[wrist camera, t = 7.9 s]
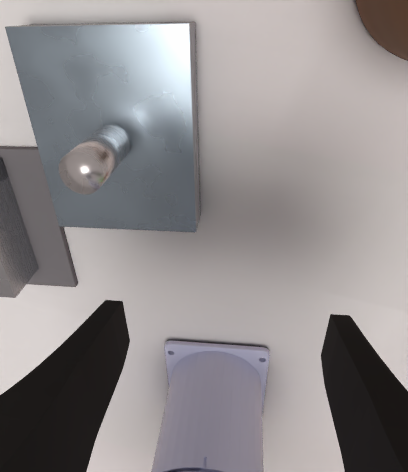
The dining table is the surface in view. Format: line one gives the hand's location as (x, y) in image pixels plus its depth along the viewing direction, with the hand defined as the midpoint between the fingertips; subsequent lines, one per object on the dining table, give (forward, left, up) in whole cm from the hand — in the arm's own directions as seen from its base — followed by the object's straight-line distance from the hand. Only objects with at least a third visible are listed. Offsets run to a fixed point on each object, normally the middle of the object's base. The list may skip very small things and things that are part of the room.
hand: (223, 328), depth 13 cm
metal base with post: (+4, +6, -10) cm, 12 cm away
